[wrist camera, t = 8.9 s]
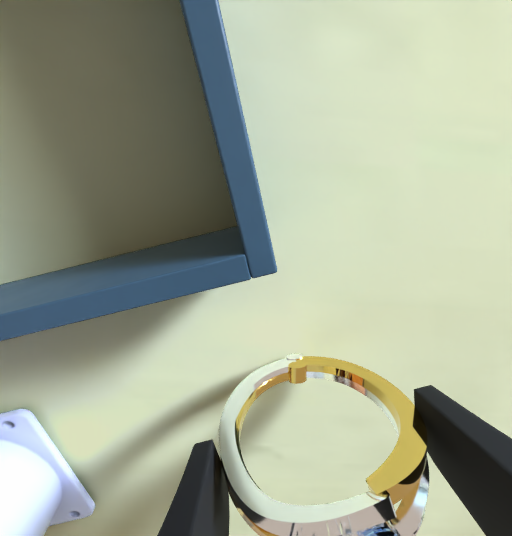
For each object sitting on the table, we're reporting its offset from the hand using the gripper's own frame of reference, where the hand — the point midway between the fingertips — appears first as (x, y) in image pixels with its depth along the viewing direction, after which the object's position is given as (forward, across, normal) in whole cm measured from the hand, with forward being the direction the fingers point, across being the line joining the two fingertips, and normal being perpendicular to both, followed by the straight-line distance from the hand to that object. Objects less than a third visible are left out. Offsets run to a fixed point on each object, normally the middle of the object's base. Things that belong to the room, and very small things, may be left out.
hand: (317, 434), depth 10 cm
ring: (+4, 0, 0) cm, 4 cm away
